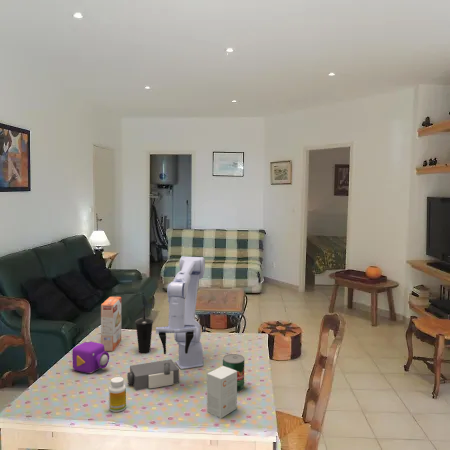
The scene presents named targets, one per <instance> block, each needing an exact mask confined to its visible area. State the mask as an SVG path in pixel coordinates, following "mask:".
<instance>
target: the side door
mask: <svg viewBox="0 0 450 450" xmlns="http://www.w3.org/2000/svg"><path fill="white" fill-rule="evenodd" d="M171 385H174V384H173V371H170V363H165V364H164V373H158V374H152V375H148V388H147V389H155V388H159V387H160V388H162V387H166V386H171Z"/></svg>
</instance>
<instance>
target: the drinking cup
mask: <svg viewBox="0 0 450 450" xmlns="http://www.w3.org/2000/svg"><path fill="white" fill-rule="evenodd" d="M142 314H143V315H142V316H143V317H141V318H138V319H136V320H135V321H134V323H135V326H136V328H135V329H136V336H137V337H136V338H137V347H138V353H139V354H143V355H144V354H149V353H150V352H151V342H152V332H153V323H154V320H153V319H152V318H150V317H146V306H143V313H142Z"/></svg>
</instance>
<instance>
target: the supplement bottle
mask: <svg viewBox="0 0 450 450" xmlns="http://www.w3.org/2000/svg"><path fill="white" fill-rule="evenodd" d="M124 381H125V379H124V378H123V377H121V376H118V377H117V376H115V377H113V378H111V379H110V385H109V387H108V409H109V411H110V412H114V413H119V412H120V413H121V412H123V411H124V410H125V409H126V407H127V387H126V385H125V383H124Z"/></svg>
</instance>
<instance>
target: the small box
mask: <svg viewBox="0 0 450 450" xmlns="http://www.w3.org/2000/svg"><path fill="white" fill-rule="evenodd" d="M237 397H238V392H237V371H236V370H233V369H231V368H228V367H225V366H223V365H221V366H220V367H217V368H215V369H214V370H212V371H209V372H207V373H206V412H207V413H208V414H211V415H213V416H215V417H217V418H220V419H222V418H224V417H226V416H227V415H228V414H231V413H232V412H234V411H235V410H236V409H238V408H237V407H238V405H237V403H238V399H237Z"/></svg>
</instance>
